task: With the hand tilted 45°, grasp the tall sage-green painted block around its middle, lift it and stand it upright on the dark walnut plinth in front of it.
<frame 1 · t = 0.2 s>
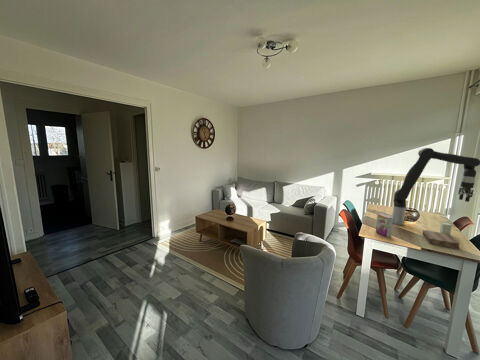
hand: (463, 200, 174), 28 cm above the table, tool pointing down, fingers open, 8 cm apart
walnut plinth: (439, 241, 161), on the table
candy bar box: (383, 234, 173), on the table
sage-green block: (444, 235, 172), on the table
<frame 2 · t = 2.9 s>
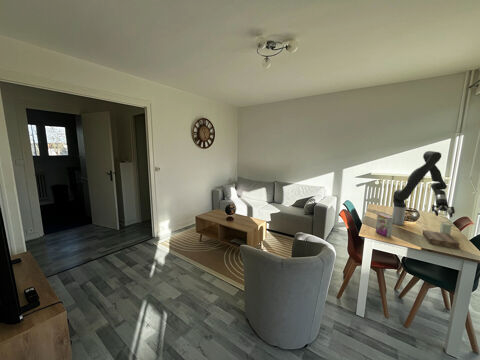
hand: (444, 216, 176), 14 cm above the table, tool tilted 45°, fingers open, 8 cm apart
nothing on the table moved.
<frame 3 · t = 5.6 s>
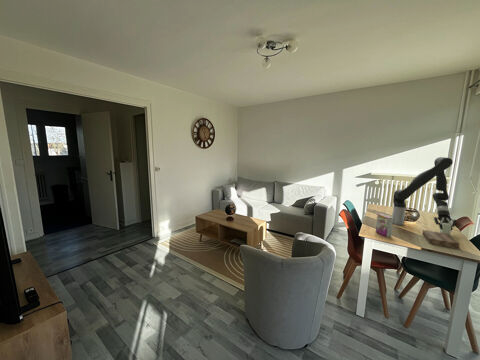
hand: (446, 229, 170), 5 cm above the table, tool tilted 45°, fingers closed on sage-green block, 5 cm apart
sage-green block: (444, 235, 172), on the table, touching gripper
everything else where it was.
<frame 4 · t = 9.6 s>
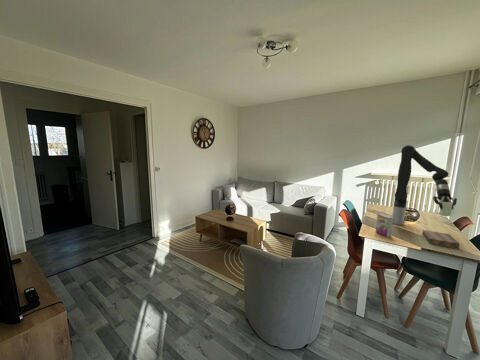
hand: (446, 208, 158), 26 cm above the table, tool tilted 45°, fingers closed on sage-green block, 5 cm apart
sage-green block: (444, 215, 160), point 20 cm above the table, touching gripper
everything else where it was.
when the fingers open (11 cm above the table, at t = 13.8 s): sage-green block drops 1 cm, resting on walnut plinth.
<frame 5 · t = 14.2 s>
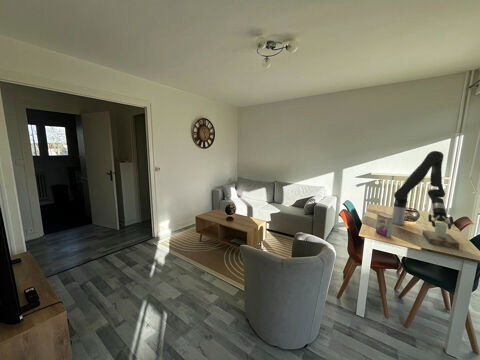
hand: (441, 227, 158), 11 cm above the table, tool tilted 45°, fingers open, 8 cm apart
sage-green block: (439, 236, 160), point 4 cm above the table, touching walnut plinth
everything else where it was.
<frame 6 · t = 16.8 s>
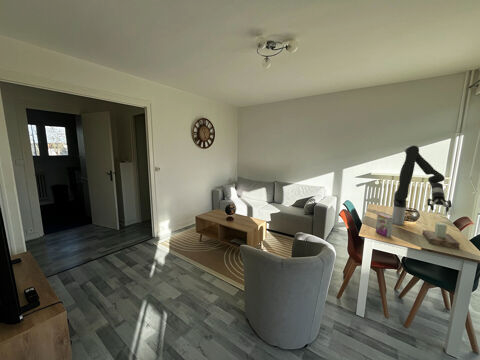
hand: (439, 210, 165), 22 cm above the table, tool tilted 45°, fingers open, 8 cm apart
nothing on the table moved.
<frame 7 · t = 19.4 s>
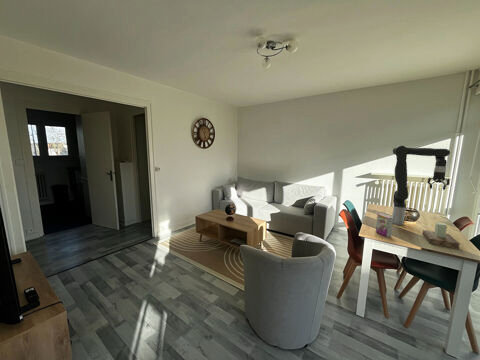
hand: (437, 189, 184), 36 cm above the table, tool pointing down, fingers open, 8 cm apart
nothing on the table moved.
at the end: sage-green block inside the target area on the walnut plinth (0.2 cm from its centre), point 4.0 cm above the walnut plinth's base; sage-green block tilted 0°; the gripper is holding nothing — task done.
